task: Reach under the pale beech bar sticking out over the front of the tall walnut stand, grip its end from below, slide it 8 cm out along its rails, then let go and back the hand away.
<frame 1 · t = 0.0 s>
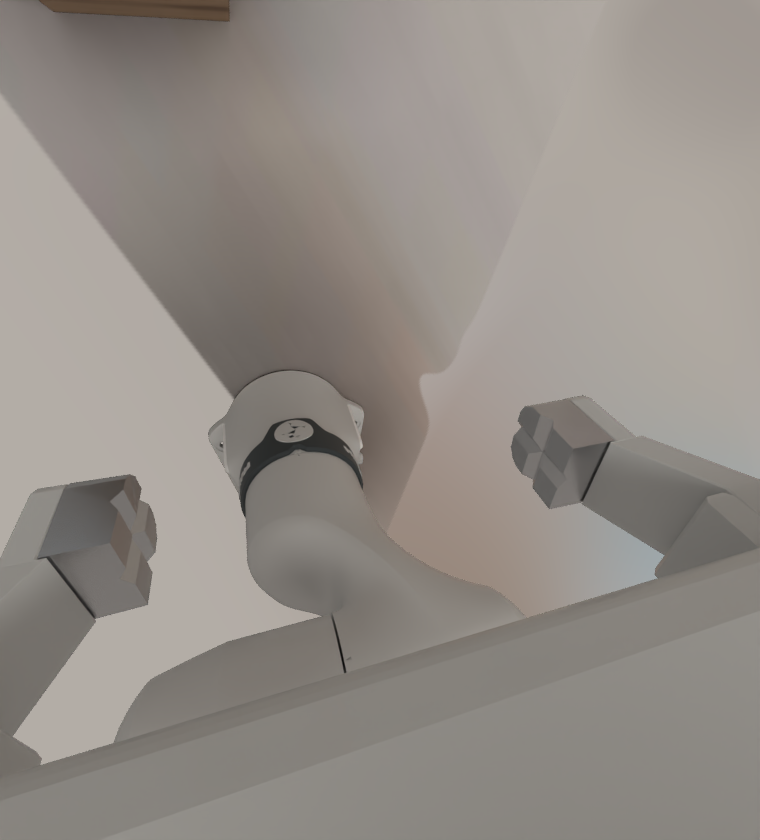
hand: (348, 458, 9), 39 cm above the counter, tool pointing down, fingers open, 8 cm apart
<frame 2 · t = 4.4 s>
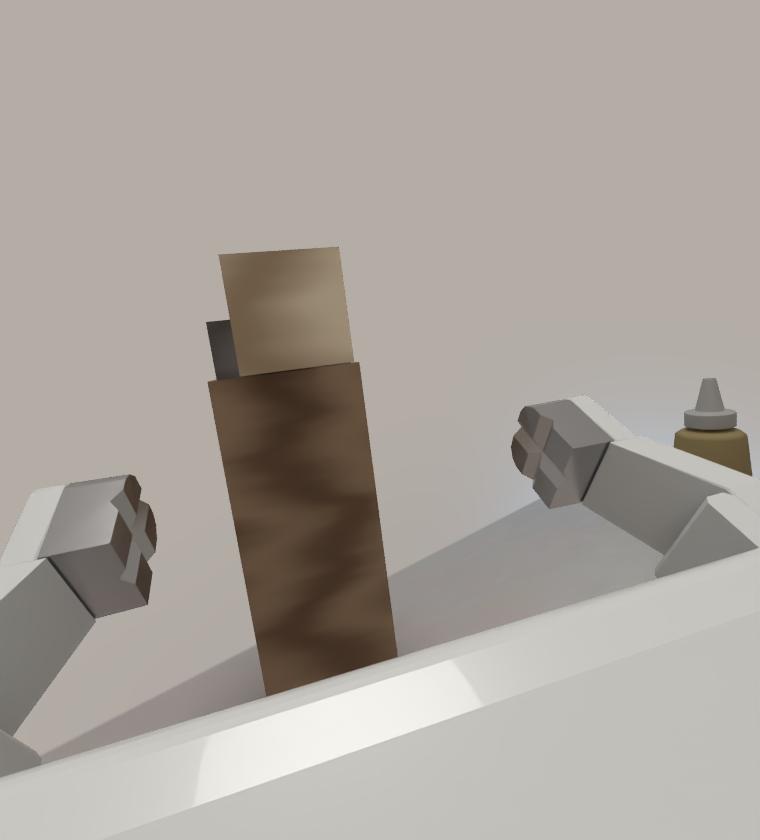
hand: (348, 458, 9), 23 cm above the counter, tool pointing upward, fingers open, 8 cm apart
tall stand: (339, 729, 30), on the counter
beech bar: (280, 334, 20), point 27 cm above the counter, slide at 0.0 cm
squeeze bottle: (709, 534, 50), on the counter
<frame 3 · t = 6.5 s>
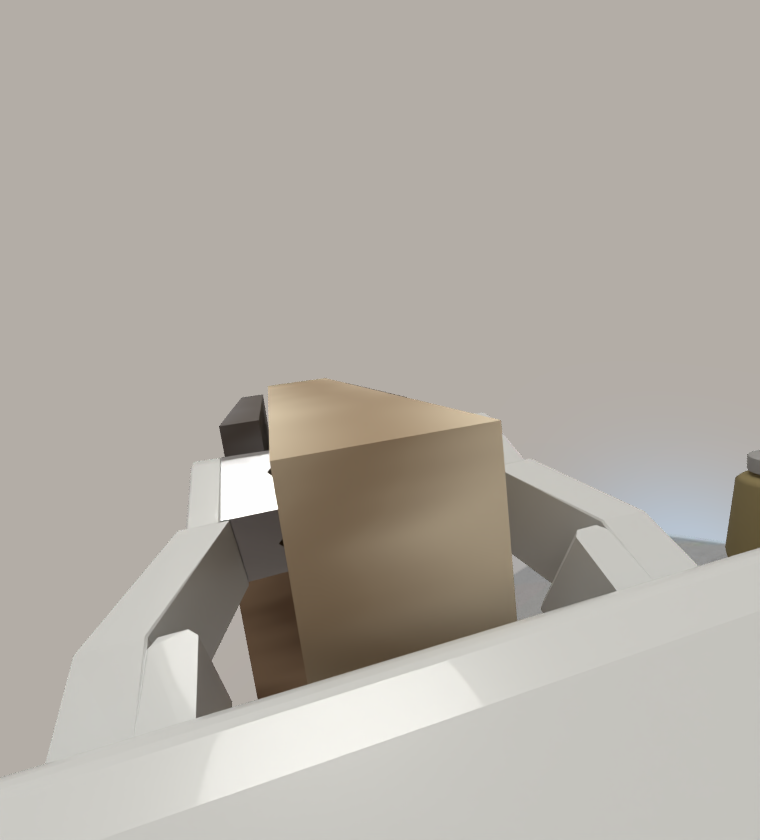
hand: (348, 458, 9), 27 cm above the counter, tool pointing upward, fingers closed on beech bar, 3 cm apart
beech bar: (321, 437, 14), point 27 cm above the counter, slide at 0.0 cm, touching gripper
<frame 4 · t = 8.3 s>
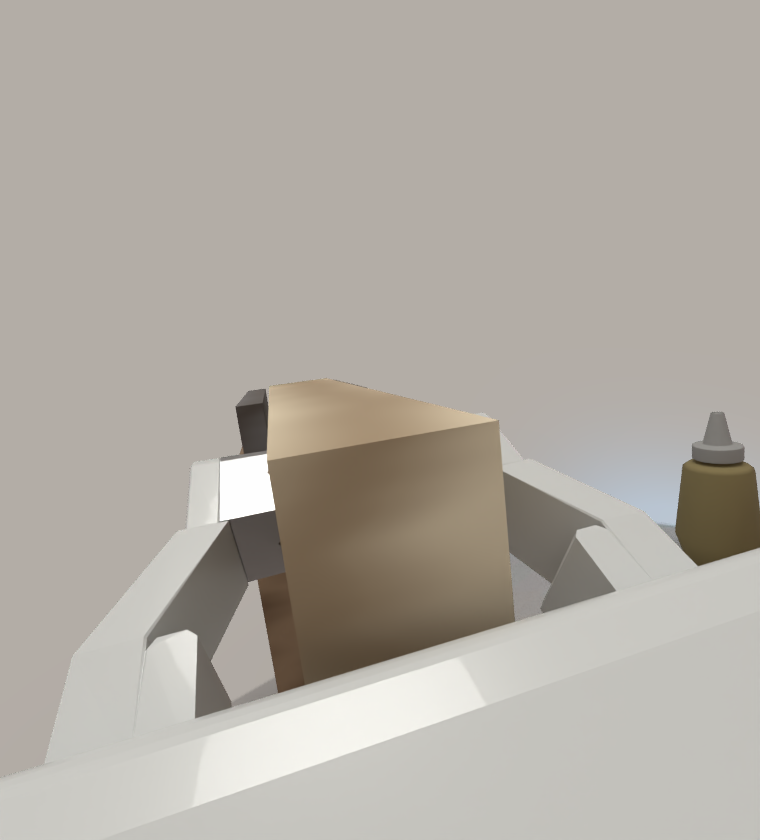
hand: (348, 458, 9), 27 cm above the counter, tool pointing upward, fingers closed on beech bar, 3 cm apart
tall stand: (356, 775, 30), on the counter
beech bar: (322, 437, 14), point 27 cm above the counter, slide at 6.3 cm, touching gripper
squeeze bottle: (716, 564, 50), on the counter
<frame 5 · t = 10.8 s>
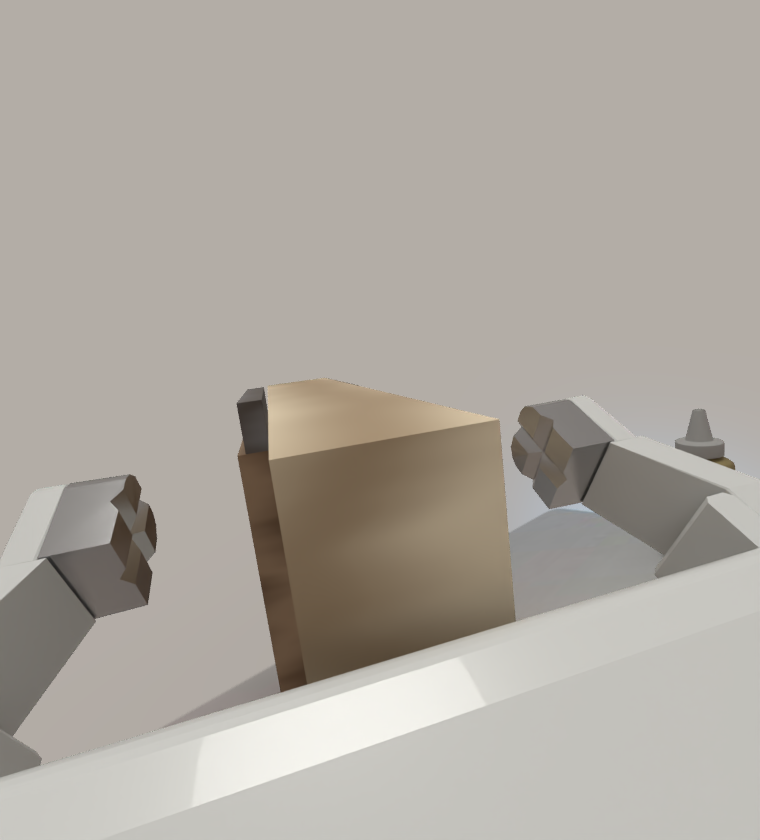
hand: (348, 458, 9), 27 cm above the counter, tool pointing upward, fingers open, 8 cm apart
tall stand: (350, 754, 32), on the counter
beech bar: (321, 437, 14), point 27 cm above the counter, slide at 8.0 cm
squeeze bottle: (699, 556, 52), on the counter
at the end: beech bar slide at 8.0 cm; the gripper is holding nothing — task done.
